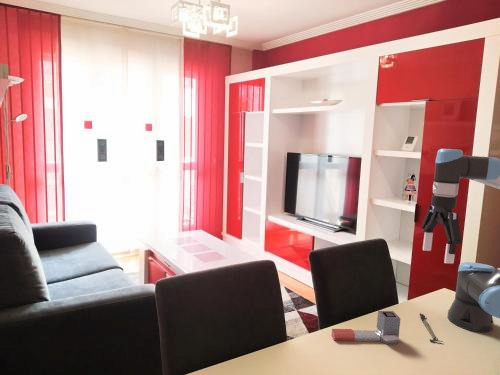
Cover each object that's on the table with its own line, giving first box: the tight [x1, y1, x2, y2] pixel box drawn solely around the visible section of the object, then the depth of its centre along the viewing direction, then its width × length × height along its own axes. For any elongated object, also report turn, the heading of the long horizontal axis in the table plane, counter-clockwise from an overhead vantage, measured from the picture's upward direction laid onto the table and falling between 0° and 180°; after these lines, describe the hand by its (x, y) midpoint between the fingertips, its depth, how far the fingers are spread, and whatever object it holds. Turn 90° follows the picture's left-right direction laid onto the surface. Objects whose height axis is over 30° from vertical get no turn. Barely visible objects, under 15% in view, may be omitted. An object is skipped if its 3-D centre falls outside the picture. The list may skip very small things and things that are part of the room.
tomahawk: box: [419, 312, 445, 346], centre depth 136 cm, size 21×7×1 cm, turn 167°
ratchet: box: [330, 313, 400, 345], centre depth 127 cm, size 22×7×9 cm, turn 93°
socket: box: [376, 310, 401, 337], centre depth 127 cm, size 5×5×6 cm
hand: (437, 256), depth 128 cm, fingers open, 13 cm apart
